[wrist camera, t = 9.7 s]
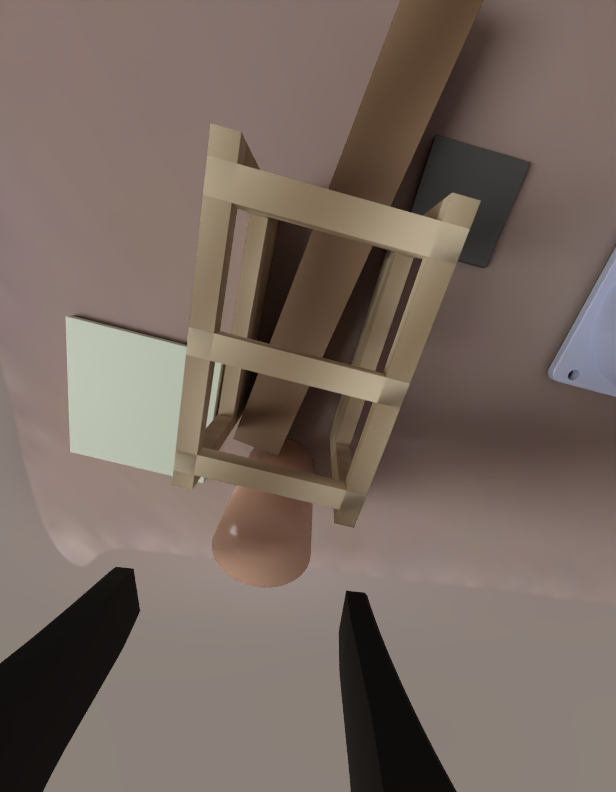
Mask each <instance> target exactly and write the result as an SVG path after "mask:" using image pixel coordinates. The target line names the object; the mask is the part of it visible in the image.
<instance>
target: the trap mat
mask: <svg viewBox="0 0 616 792" xmlns="http://www.w3.org/2000/svg"><path fill="white" fill-rule="evenodd" d="M529 165H530V162H527V161H524V160H520V159H517V158H513V157H510V156H507V155H503V154H500V153H496V152H493V151H490V150H486V149H483V148H479V147H476V146H473V145H469V144H466V143H462V142H459V141H456V140H452V139H449V138H445V137H442V136H438V135H436V136H435V137H434V138H433V141H432V144H431V147H430V150H429V154H428V157H427V160H426V163H425V166H424V169H423V172H422V175H421V179H420V182H419V185H418V188H417V191H416V194H415V197H414V200H413V204H412V207H411V210H410V212H411V213H414V214H418V215H422V216H423V215H424V214H425V213H427V212H428V211H429V210H430V209H432V208H433V207H434V206H436V205H437V204H438V203H439V202H441V201H442V200H443V199H445V198H446V197H447V196H448V195H450V194H451V193H456V194H459V195H463V196H466V197H470V198H473V199H477V200H480V201H481V202H480V204H479V207H478V209H477V212H476V215H475V217H474V220H473V222H472V225H471V227H470V230H469V233H468V235H467V238H466V240H465V243H464V245H463V248H462V251H461V253H460V256H459V258H458V261H459V262H463V263H466V264H470V265H473V266H477V267H481V268H486V267H487V264H488V262H489V260H490V257H491V255H492V252H493V250H494V248H495V245H496V243H497V241H498V238H499V236H500V233H501V231H502V229H503V226H504V224H505V222H506V219H507V217H508V214H509V212H510V210H511V207H512V205H513V203H514V200H515V198H516V195H517V193H518V191H519V188H520V186H521V184H522V181H523V179H524V177H525V174H526V172H527V169H528V167H529Z"/></svg>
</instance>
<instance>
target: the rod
mask: <svg viewBox="0 0 616 792" xmlns="http://www.w3.org/2000/svg"><path fill="white" fill-rule="evenodd" d="M483 1H484V0H400V2H399V5H398V8H397V10H396V13H395V15H394V18H393V21H392V23H391V26H390V29H389V31H388V34H387V36H386V39H385V42H384V44H383V47H382V50H381V52H380V55H379V57H378V60H377V63H376V65H375V68H374V71H373V73H372V76H371V78H370V81H369V84H368V86H367V89H366V92H365V94H364V97H363V100H362V102H361V105H360V107H359V110H358V113H357V115H356V118H355V121H354V123H353V126H352V128H351V131H350V134H349V136H348V139H347V142H346V144H345V147H344V149H343V152H342V155H341V157H340V160H339V163H338V165H337V168H336V170H335V173H334V176H333V178H332V181H331V184H330V186H329V190H333V191H336V192H340V193H343V194H347V195H350V196H354V197H358V198H361V199H365V200H368V201H372V202H375V203H379V204H382V205H386V206H391V204H392V202H393V200H394V198H395V195H396V193H397V191H398V189H399V187H400V184H401V182H402V180H403V178H404V175H405V173H406V171H407V169H408V167H409V164H410V162H411V160H412V158H413V156H414V153H415V151H416V149H417V147H418V144H419V142H420V140H421V138H422V136H423V133H424V131H425V129H426V127H427V125H428V122H429V120H430V118H431V116H432V113H433V111H434V109H435V107H436V105H437V102H438V100H439V98H440V96H441V94H442V91H443V89H444V87H445V85H446V82H447V80H448V78H449V76H450V74H451V71H452V69H453V67H454V65H455V63H456V60H457V58H458V56H459V54H460V51H461V49H462V47H463V45H464V43H465V40H466V38H467V36H468V34H469V32H470V29H471V27H472V25H473V23H474V20H475V18H476V16H477V14H478V12H479V9H480V7H481V5H482V3H483ZM371 249H372V245H368V244H365V243H361V242H358V241H354V240H350V239H347V238H343V237H339V236H336V235H332V234H328V233H325V232H321V231H318V230H314V229H313V231H312V233H311V236H310V239H309V241H308V244H307V247H306V249H305V252H304V254H303V257H302V260H301V262H300V265H299V268H298V270H297V273H296V275H295V278H294V281H293V283H292V286H291V289H290V291H289V294H288V296H287V299H286V302H285V304H284V307H283V310H282V312H281V315H280V317H279V320H278V323H277V325H276V328H275V331H274V333H273V336H272V338H271V341H270V344H272V345H276V346H280V347H283V348H287V349H291V350H295V351H299V352H303V353H307V354H311V355H315V356H318V357H323V355H324V353H325V350H326V348H327V346H328V344H329V342H330V339H331V337H332V335H333V333H334V330H335V328H336V326H337V324H338V322H339V319H340V317H341V315H342V313H343V311H344V308H345V306H346V304H347V302H348V299H349V297H350V295H351V293H352V291H353V288H354V286H355V284H356V282H357V280H358V277H359V275H360V273H361V271H362V268H363V266H364V264H365V262H366V260H367V257H368V255H369V253H370V251H371ZM308 388H309V386H308V385H304V384H300V383H296V382H292V381H288V380H284V379H280V378H276V377H272V376H269V375H265V374H261V373H258V375H257V378H256V380H255V383H254V386H253V388H252V391H251V394H250V396H249V399H248V401H247V404H246V407H245V409H244V412H243V415H242V417H241V420H240V422H239V425H238V428H237V430H236V433H235V436H234V438H233V439H235V440H238V441H240V442H243V443H245V444H248V445H250V446H253V447H256V448H258V449H261V450H263V451H266V452H268V453H271V454H273V455H276V456H278V454H279V452H280V450H281V448H282V446H283V443H284V441H285V439H286V437H287V435H288V432H289V430H290V428H291V426H292V423H293V421H294V419H295V417H296V415H297V412H298V410H299V408H300V406H301V404H302V401H303V399H304V397H305V395H306V392H307V390H308Z"/></svg>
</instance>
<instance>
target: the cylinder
mask: <svg viewBox="0 0 616 792" xmlns="http://www.w3.org/2000/svg"><path fill="white" fill-rule="evenodd" d="M249 458H250V459H254V460H258V461H262V462H266V463H271V464H275V465H279V466H283V467H287V468H291V469H296V470H300V471H304V472H308V473H312V474H314V463H313V460H312V457H311V455H310V454H309V452H308V451H307V450H306V449H305V448H304V447H303V446H302V445H300V444H299V443H297V442H295V441H293V440H290V439H285V441H284V443H283V446H282V448H281V450H280V452H279V454H278V456H276V455H273V454H271V453H268V452H266V451H263V450H261V449H258V448H256V447H255V448H254V449H253V450H252V452H251V453H250V456H249ZM312 506H313V503H309V502H305V501H301V500H297V499H293V498H288V497H284V496H280V495H276V494H271V493H267V492H263V491H259V490H255V489H250V488H246V487H242V486H238V485H236V487H235V489H234V492H233V494H232V496H231V498H230V501H229V503H228V505H227V507H226V510H225V512H224V514H223V516H222V519H221V521H220V523H219V525H218V528H217V530H216V532H215V534H214V537H213V541H212V551H213V555H214V557H215V560H216V562H217V563H218V565H219V566H220V567H221V569H223V571H224V572H225V573H227V574H228V575H229V576H230V577H232V578H234V579H235V580H237V581H239V582H242V583H244V584H247V585H251V586H255V587H277V586H282V585H285V584H288V583H290V582H292V581H294V580H295V579H297V578H298V577H299V576H300V575H301V574H302V573H303V572H304V571H305V569H306V568H307V566H308V564H309V561H310V553H311V530H312Z"/></svg>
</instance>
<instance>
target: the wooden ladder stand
mask: <svg viewBox="0 0 616 792" xmlns="http://www.w3.org/2000/svg"><path fill="white" fill-rule="evenodd" d="M480 202H481V201H480V200H477V199H473V198H470V197H466V196H463V195H459V194H456V193H451V194H450V195H448V196H447V197H446V198H445V199H443V200H442V201H441V202H439V203H438V204H437V205H436V206H434V207H433V208H432V209H430V210H429V211H428V212H427V213H425V214H424V215H423V216H422V215H418V214H414V213H411V212H407V211H404V210H400V209H397V208H393V207H390V206H386V205H382V204H379V203H375V202H372V201H368V200H365V199H361V198H358V197H354V196H350V195H347V194H343V193H340V192H336V191H333V190H329V189H326V188H322V187H318V186H315V185H311V184H308V183H304V182H301V181H297V180H294V179H290V178H286V177H283V176H279V175H276V174H272V173H269V172H265V171H262V170H260V169H259V167H258V165H257V163H256V161H255V159H254V157H253V155H252V153H251V151H250V149H249V147H248V145H247V143H246V141H245V139H244V137H243V135H242V133H241V132H239V131H235V130H232V129H228V128H225V127H221V126H218V125H214V124H211V126H210V135H209V145H208V154H207V163H206V172H205V182H204V191H203V200H202V210H201V219H200V228H199V237H198V247H197V256H196V265H195V275H194V284H193V293H192V303H191V312H190V321H189V330H188V340H187V349H186V358H185V368H184V377H183V386H182V396H181V405H180V414H179V423H178V433H177V442H176V451H175V461H174V470H173V479H172V485H174V486H178V487H183V488H187V489H191V490H192V489H193V488H194V486H195V485H196V483H197V482H198V480H199V479H200V477H204V478H208V479H212V480H217V481H221V482H225V483H229V484H233V485H238V486H242V487H246V488H250V489H255V490H259V491H263V492H267V493H271V494H276V495H280V496H284V497H288V498H293V499H297V500H301V501H305V502H309V503H314V504H318V505H322V506H326V507H331V508H334V523H336V524H340V525H345V526H349V527H353V528H354V526H355V524H356V521H357V519H358V516H359V513H360V511H361V508H362V506H363V503H364V501H365V498H366V495H367V493H368V490H369V488H370V485H371V483H372V480H373V477H374V475H375V472H376V470H377V467H378V465H379V462H380V459H381V457H382V454H383V452H384V449H385V446H386V444H387V441H388V439H389V436H390V434H391V431H392V428H393V426H394V423H395V421H396V418H397V416H398V413H399V410H400V408H401V405H402V403H403V400H404V398H405V395H406V392H407V390H408V387H409V385H410V382H411V379H412V377H413V374H414V372H415V369H416V367H417V364H418V361H419V359H420V356H421V354H422V351H423V349H424V346H425V343H426V341H427V338H428V336H429V333H430V331H431V328H432V325H433V323H434V320H435V318H436V315H437V312H438V310H439V307H440V305H441V302H442V300H443V297H444V294H445V292H446V289H447V287H448V284H449V282H450V279H451V276H452V274H453V271H454V269H455V266H456V264H457V261H458V258H459V256H460V253H461V251H462V248H463V245H464V243H465V240H466V238H467V235H468V233H469V230H470V227H471V225H472V222H473V220H474V217H475V215H476V212H477V209H478V207H479V204H480ZM237 208H238V209H241V210H245V211H248V212H249V220H248V227H247V233H246V240H245V246H244V252H243V259H242V265H241V271H240V278H239V284H238V290H237V297H236V303H235V310H234V316H233V322H232V329H231V334H229V333H225V332H221V331H220V326H221V319H222V312H223V305H224V298H225V291H226V284H227V277H228V270H229V263H230V256H231V249H232V242H233V235H234V228H235V221H236V214H237ZM280 220H281V221H285V222H288V223H292V224H296V225H299V226H303V227H307V228H310V229H314V230H318V231H321V232H325V233H328V234H332V235H336V236H339V237H343V238H347V239H350V240H354V241H358V242H361V243H365V244H368V245H372V246H376V247H379V248H383V249H386V252H385V256H384V259H383V262H382V265H381V269H380V272H379V275H378V278H377V282H376V285H375V288H374V291H373V295H372V298H371V301H370V304H369V308H368V311H367V314H366V317H365V321H364V324H363V327H362V330H361V334H360V337H359V340H358V343H357V347H356V350H355V353H354V356H353V360H352V363H351V365H350V364H346V363H342V362H338V361H334V360H330V359H326V358H322V357H318V356H315V355H311V354H307V353H303V352H299V351H295V350H291V349H287V348H283V347H280V346H276V345H272V344H268V343H264V342H260V341H257V338H258V333H259V327H260V322H261V317H262V311H263V306H264V301H265V296H266V290H267V285H268V280H269V274H270V269H271V264H272V259H273V253H274V248H275V243H276V237H277V232H278V227H279V222H280ZM414 258H419V259H423V260H422V263H421V266H420V269H419V271H418V274H417V277H416V280H415V283H414V286H413V289H412V291H411V294H410V297H409V300H408V303H407V306H406V309H405V311H404V314H403V317H402V320H401V323H400V326H399V328H398V331H397V334H396V337H395V340H394V343H393V346H392V348H391V351H390V354H389V357H388V360H387V363H386V366H385V368H384V371H383V373H381V372H377V371H375V370H376V367H377V364H378V361H379V358H380V356H381V353H382V350H383V347H384V344H385V341H386V338H387V335H388V332H389V329H390V326H391V323H392V320H393V317H394V314H395V311H396V308H397V306H398V303H399V300H400V297H401V294H402V291H403V288H404V285H405V282H406V279H407V276H408V273H409V270H410V267H411V264H412V261H413V259H414ZM215 362H217V363H221V364H225V365H226V367H225V373H224V380H223V386H222V392H221V399H220V405H219V411H218V415H217V416H216V417H215V418H214V420H213V421H212V422H211V423H210V424H209V425H208V426H207V428H206V423H207V416H208V409H209V402H210V395H211V388H212V381H213V374H214V367H215ZM251 371H253V372H257V373H261V374H265V375H269V376H272V377H276V378H280V379H284V380H288V381H292V382H296V383H300V384H304V385H308V386H312V387H316V388H320V389H324V390H328V391H332V392H336V393H340V394H342V395H341V398H340V402H339V405H338V408H337V411H336V415H335V418H334V421H333V424H332V428H331V431H330V450H331V469H332V478H329V477H325V476H320V475H316V474H312V473H308V472H304V471H300V470H296V469H291V468H287V467H283V466H279V465H275V464H271V463H266V462H262V461H258V460H254V459H250V458H246V457H242V456H237V455H233V454H229V453H225V452H221V451H218V450H219V449H220V447H221V446H222V444H223V443H224V441H225V440H226V438H227V437H228V435H229V434H230V432H231V430H232V429H233V427H234V426H235V424H236V423H237V421H238V420H239V418H240V417H241V415H242V414H243V412H244V407H245V401H246V396H247V391H248V385H249V380H250V375H251ZM365 400H367V401H371V402H373V403H372V406H371V408H370V411H369V414H368V417H367V420H366V423H365V426H364V428H363V431H362V434H361V437H360V440H359V443H358V446H357V448H356V451H355V454H354V457H353V460H352V457H351V452H350V444H351V441H352V438H353V435H354V432H355V429H356V426H357V423H358V420H359V417H360V414H361V411H362V408H363V406H364V403H365Z"/></svg>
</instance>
